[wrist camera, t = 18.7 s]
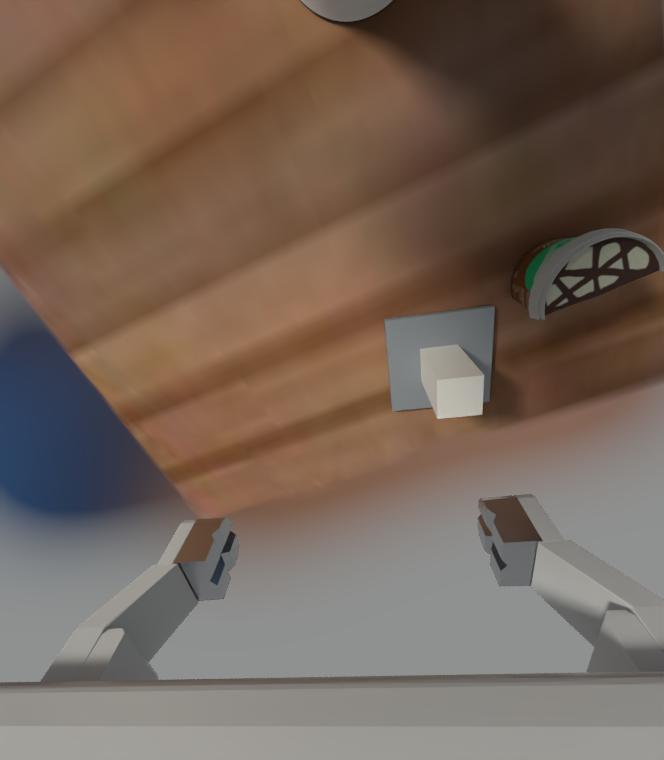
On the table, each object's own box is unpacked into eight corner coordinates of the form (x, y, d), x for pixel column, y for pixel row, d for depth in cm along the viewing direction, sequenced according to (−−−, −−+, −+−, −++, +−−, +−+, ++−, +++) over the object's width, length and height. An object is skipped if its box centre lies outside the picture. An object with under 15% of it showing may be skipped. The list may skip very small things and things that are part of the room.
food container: (596, 207, 38) (672, 202, 29) (603, 258, 40) (676, 269, 31) (487, 256, 41) (526, 265, 32) (500, 301, 43) (539, 322, 34)
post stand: (384, 319, 45) (390, 337, 37) (491, 304, 43) (519, 321, 36) (391, 407, 50) (398, 438, 43) (486, 398, 49) (509, 428, 42)
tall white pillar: (420, 348, 45) (436, 380, 36) (457, 344, 45) (484, 375, 36) (421, 381, 47) (437, 418, 38) (457, 377, 47) (482, 414, 38)
